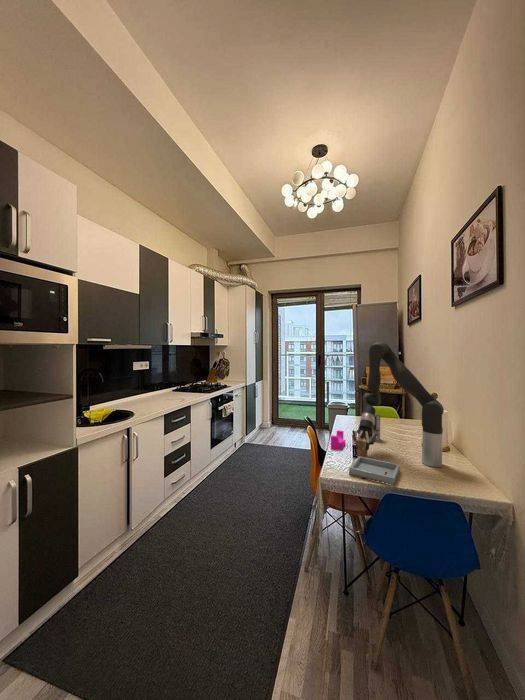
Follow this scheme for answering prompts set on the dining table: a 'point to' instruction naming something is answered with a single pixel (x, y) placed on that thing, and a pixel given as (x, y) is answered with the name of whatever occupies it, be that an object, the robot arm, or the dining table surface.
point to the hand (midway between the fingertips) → (361, 449)
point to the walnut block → (362, 448)
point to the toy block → (337, 441)
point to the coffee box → (376, 427)
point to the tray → (375, 470)
